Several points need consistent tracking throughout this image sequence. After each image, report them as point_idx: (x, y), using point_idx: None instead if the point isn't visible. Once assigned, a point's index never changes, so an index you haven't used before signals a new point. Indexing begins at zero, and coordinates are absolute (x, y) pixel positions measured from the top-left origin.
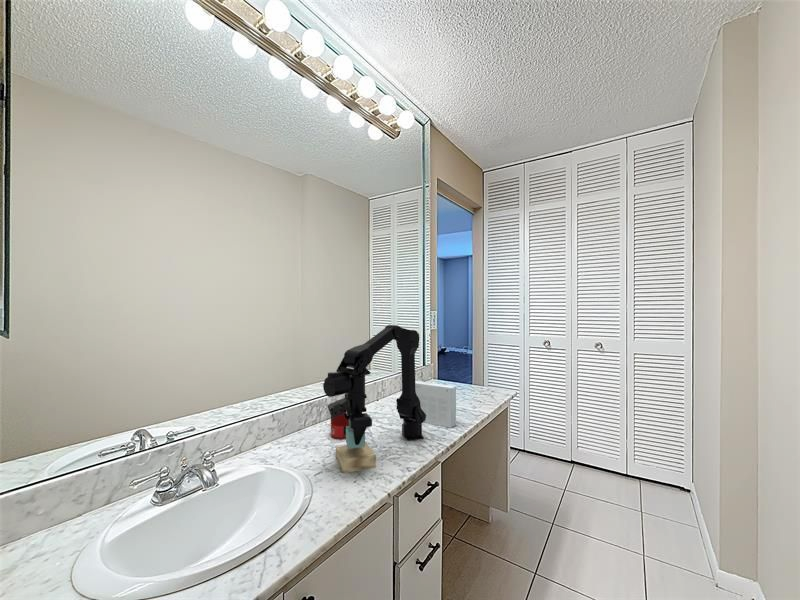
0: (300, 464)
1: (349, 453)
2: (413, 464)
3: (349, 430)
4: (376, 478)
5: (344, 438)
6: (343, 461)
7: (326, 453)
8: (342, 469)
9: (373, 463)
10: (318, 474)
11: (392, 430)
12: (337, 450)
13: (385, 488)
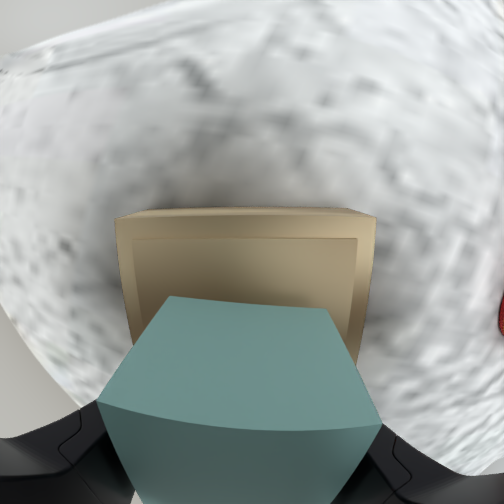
0: (340, 22)
1: (198, 289)
2: None
3: (162, 431)
4: (76, 334)
5: (502, 304)
6: (118, 219)
7: (426, 177)
8: (158, 209)
9: None
10: (184, 79)
11: (435, 456)
12: (313, 215)
13: (25, 329)
